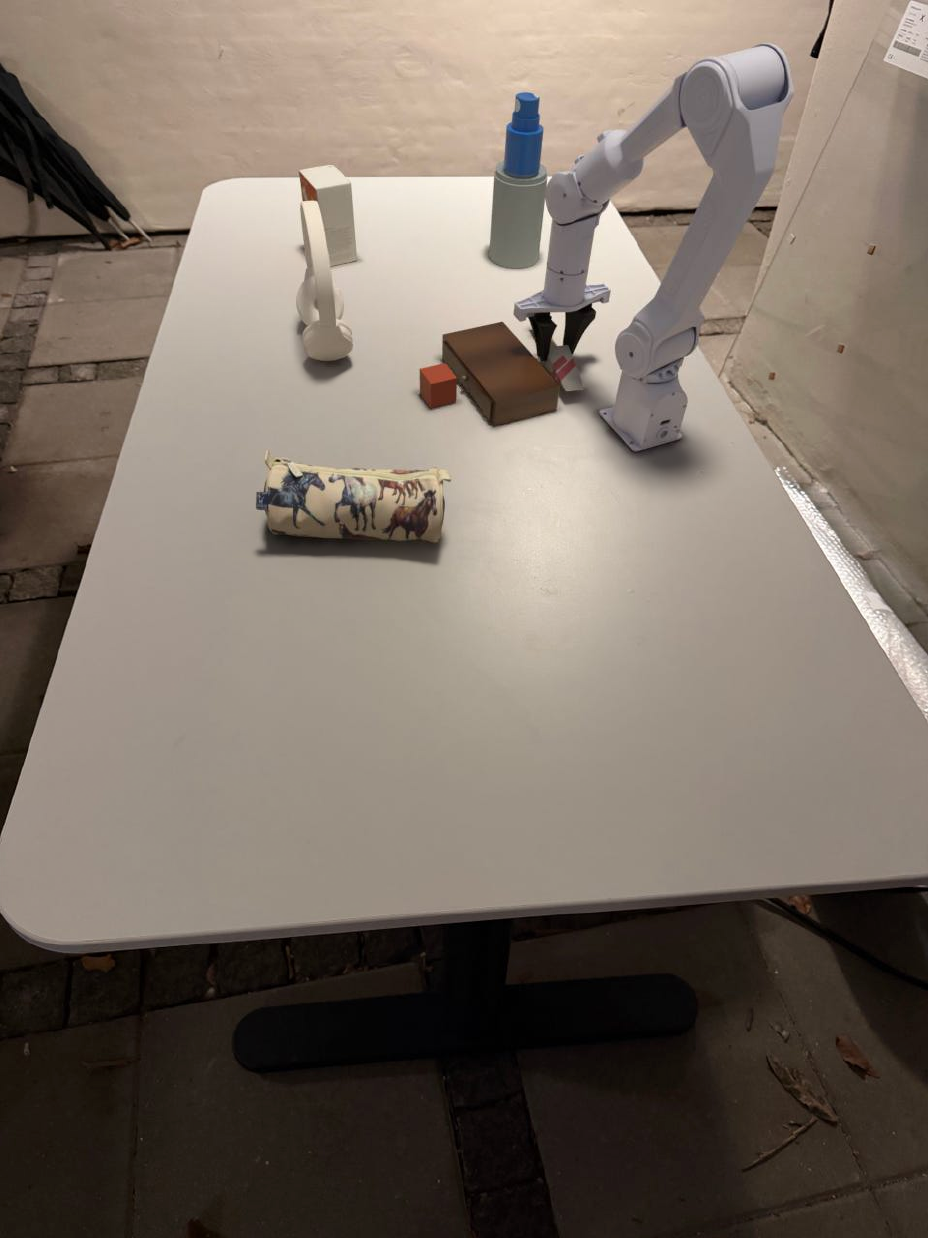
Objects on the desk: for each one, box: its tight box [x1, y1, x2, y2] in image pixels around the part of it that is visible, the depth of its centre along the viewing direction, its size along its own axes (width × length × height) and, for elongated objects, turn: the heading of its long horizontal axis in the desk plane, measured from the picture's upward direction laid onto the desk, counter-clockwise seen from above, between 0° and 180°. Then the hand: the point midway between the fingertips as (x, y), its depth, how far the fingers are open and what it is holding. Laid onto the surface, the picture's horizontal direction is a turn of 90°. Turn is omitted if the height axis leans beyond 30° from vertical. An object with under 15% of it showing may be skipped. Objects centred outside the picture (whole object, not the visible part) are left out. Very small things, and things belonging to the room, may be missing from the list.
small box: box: [298, 164, 358, 267], centre depth 132 cm, size 8×6×13 cm
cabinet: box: [441, 321, 561, 427], centre depth 112 cm, size 18×11×4 cm, turn 25°
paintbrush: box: [529, 322, 585, 392], centre depth 116 cm, size 4×3×20 cm
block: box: [419, 362, 458, 409], centre depth 110 cm, size 4×4×4 cm
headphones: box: [295, 201, 354, 362], centre depth 111 cm, size 7×18×20 cm, turn 13°
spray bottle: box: [488, 91, 548, 270], centre depth 129 cm, size 9×9×25 cm
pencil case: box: [255, 449, 452, 543], centre depth 90 cm, size 22×8×10 cm, turn 88°
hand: (555, 354), depth 116 cm, fingers closed on paintbrush, 4 cm apart
